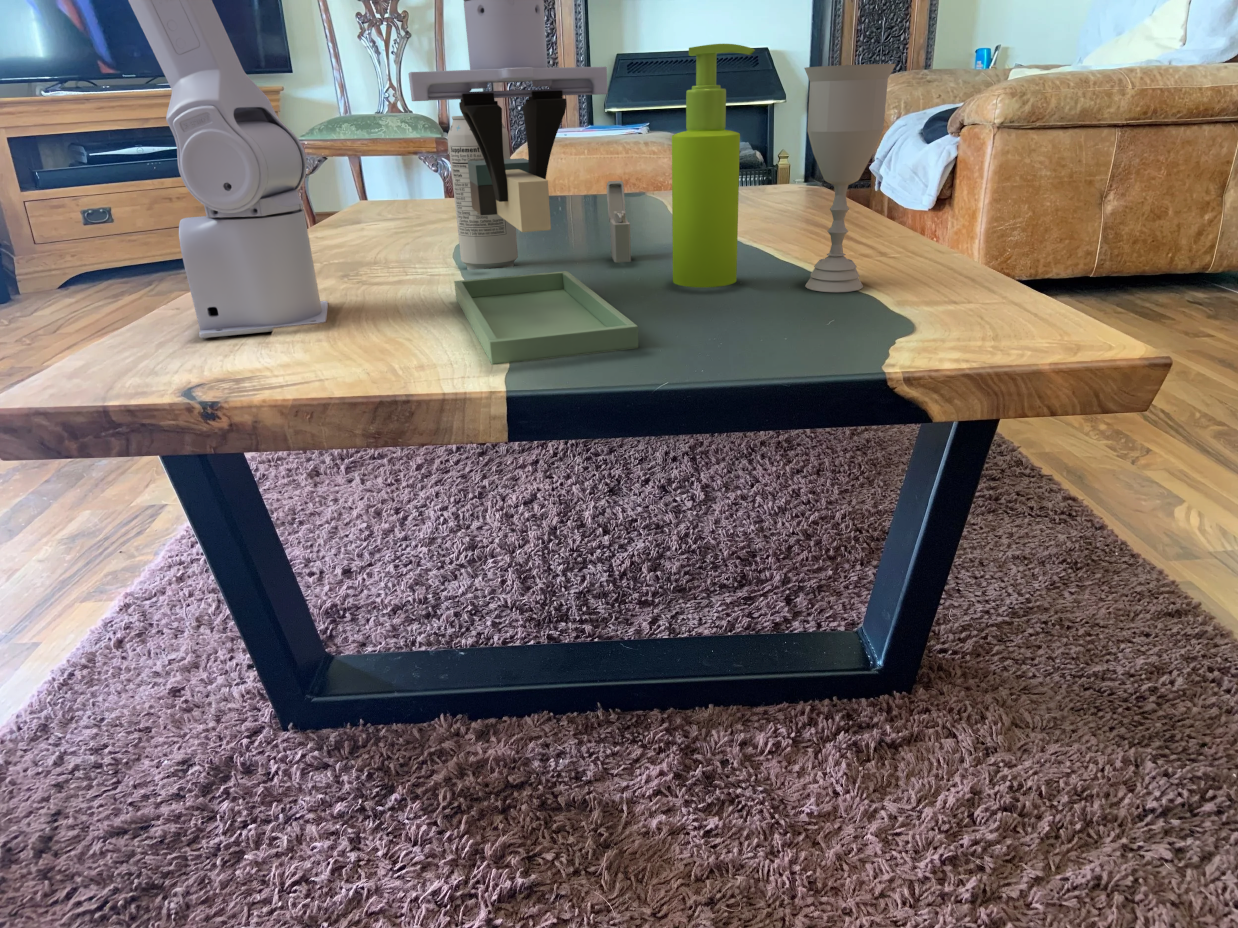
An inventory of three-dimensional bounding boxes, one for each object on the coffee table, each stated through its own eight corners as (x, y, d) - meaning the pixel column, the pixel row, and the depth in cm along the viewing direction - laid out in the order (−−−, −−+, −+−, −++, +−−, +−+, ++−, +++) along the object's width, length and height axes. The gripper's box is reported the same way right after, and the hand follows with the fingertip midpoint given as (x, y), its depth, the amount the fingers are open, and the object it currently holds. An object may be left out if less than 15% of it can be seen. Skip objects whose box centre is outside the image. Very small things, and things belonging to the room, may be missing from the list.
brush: (569, 228, 61) (566, 171, 60) (502, 234, 60) (497, 175, 59) (527, 205, 75) (523, 158, 74) (472, 209, 74) (467, 161, 73)
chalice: (868, 278, 78) (887, 65, 71) (882, 294, 72) (904, 63, 64) (789, 278, 79) (800, 68, 71) (796, 295, 73) (808, 66, 65)
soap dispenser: (745, 292, 74) (752, 41, 66) (668, 292, 75) (666, 45, 67) (749, 279, 79) (756, 44, 71) (677, 278, 80) (676, 48, 72)
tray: (639, 354, 58) (638, 326, 57) (492, 371, 55) (489, 342, 54) (568, 292, 76) (567, 270, 75) (456, 303, 74) (454, 281, 73)
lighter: (631, 266, 87) (629, 186, 84) (614, 267, 87) (612, 186, 84) (624, 254, 94) (621, 179, 90) (608, 255, 93) (606, 180, 90)
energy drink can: (527, 263, 91) (516, 114, 84) (504, 274, 85) (491, 115, 79) (477, 262, 92) (462, 115, 86) (451, 272, 87) (434, 117, 81)
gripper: (404, -4, 54) (430, 211, 60) (616, -5, 58) (622, 198, 64) (397, 7, 61) (422, 201, 66) (590, 5, 64) (597, 189, 70)
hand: (519, 199), depth 65 cm, fingers closed on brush, 2 cm apart
